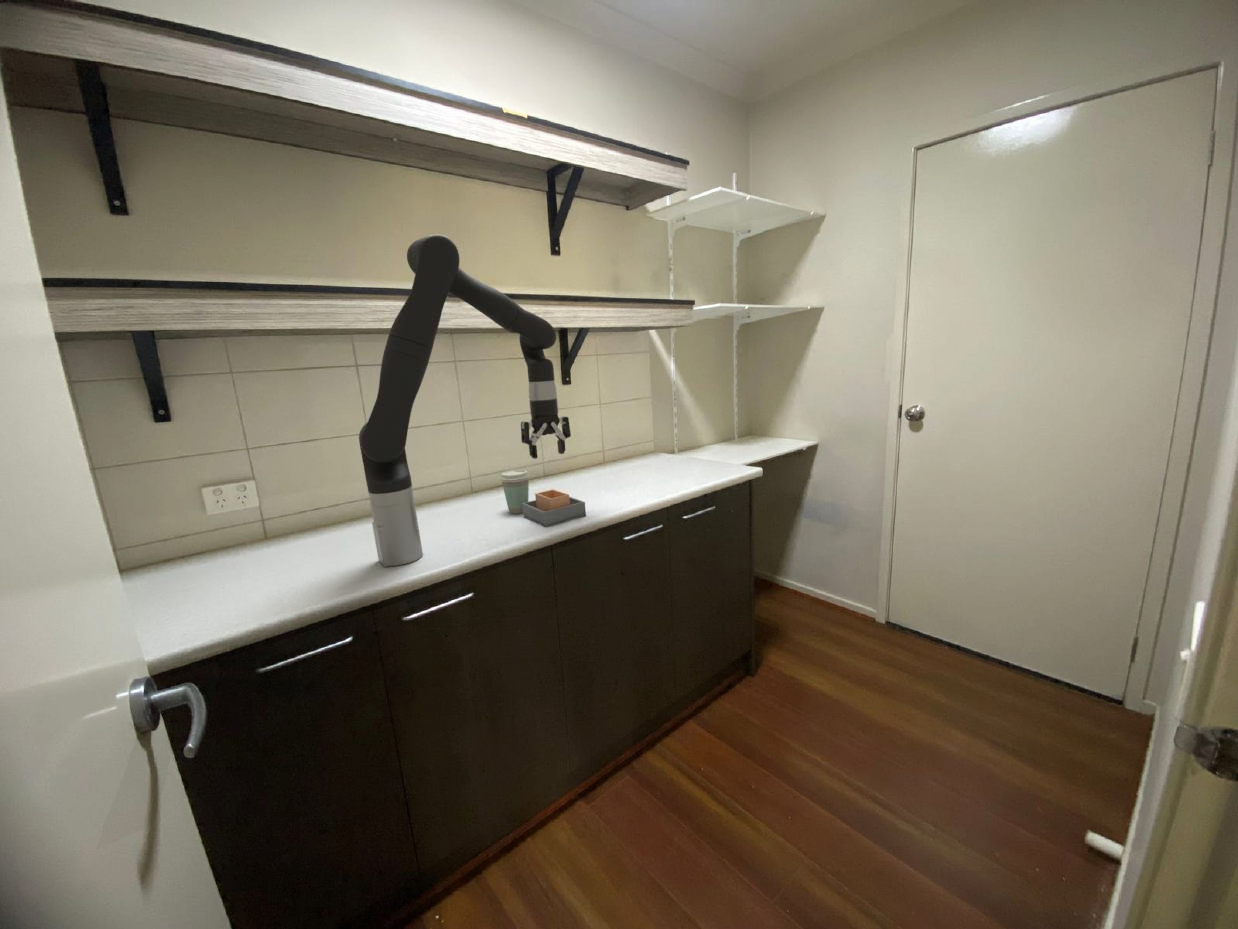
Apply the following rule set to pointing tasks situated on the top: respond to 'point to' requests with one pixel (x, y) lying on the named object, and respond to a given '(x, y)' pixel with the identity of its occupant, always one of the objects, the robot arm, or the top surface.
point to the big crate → (554, 512)
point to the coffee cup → (515, 489)
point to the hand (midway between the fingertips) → (548, 455)
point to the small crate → (551, 500)
